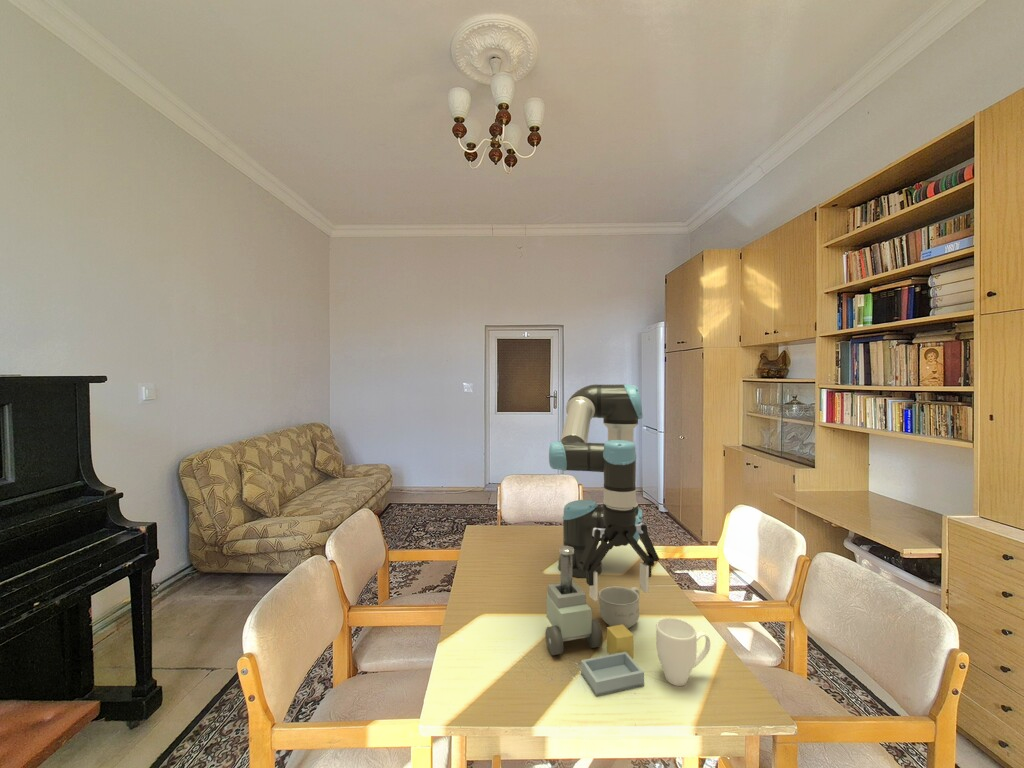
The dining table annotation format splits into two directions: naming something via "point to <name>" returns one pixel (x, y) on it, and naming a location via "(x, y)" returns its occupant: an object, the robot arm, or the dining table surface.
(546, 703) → the dining table surface
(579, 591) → the trolley
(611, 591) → the teacup
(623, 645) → the block
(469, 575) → the dining table surface
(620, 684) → the tray
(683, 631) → the mug
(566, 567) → the flashlight
